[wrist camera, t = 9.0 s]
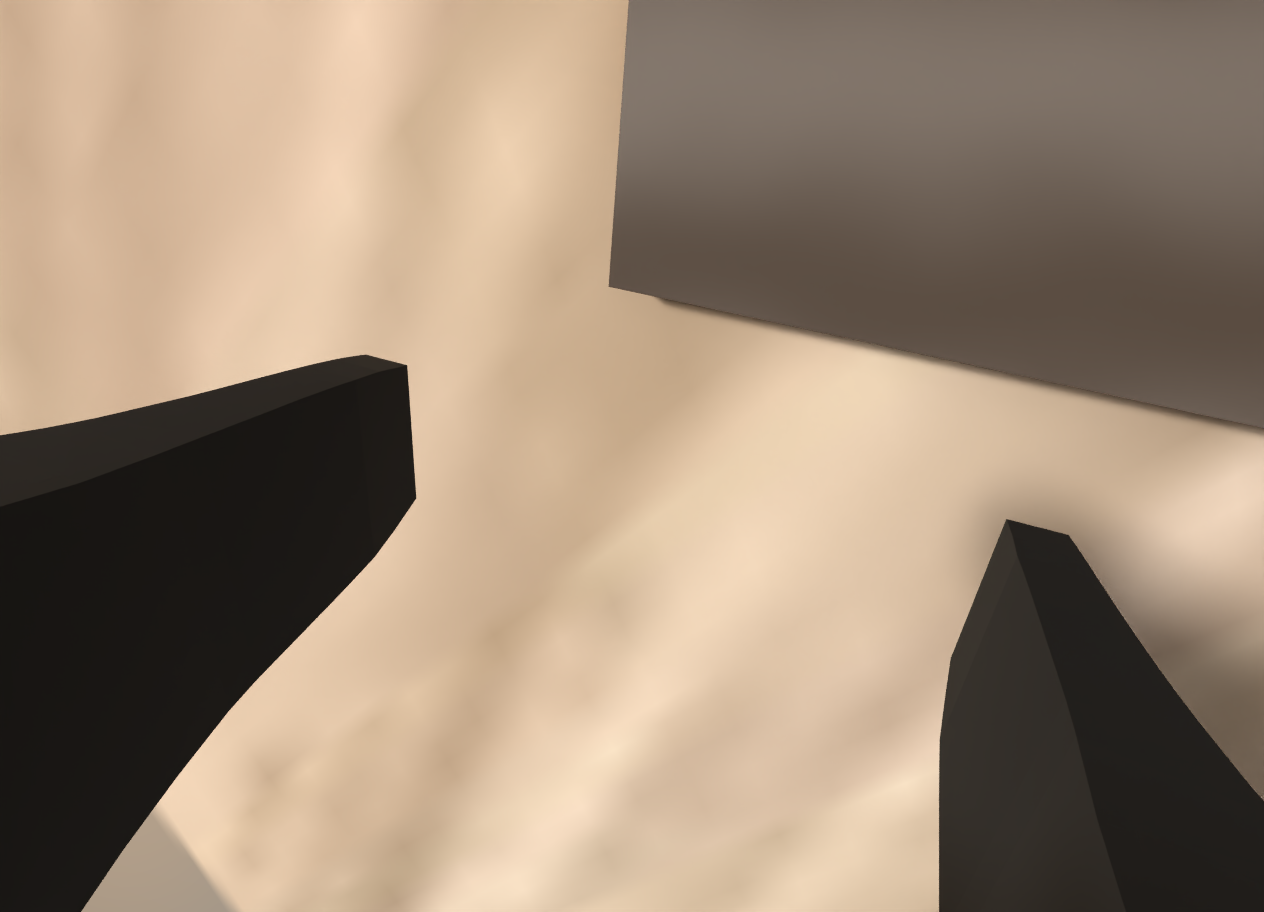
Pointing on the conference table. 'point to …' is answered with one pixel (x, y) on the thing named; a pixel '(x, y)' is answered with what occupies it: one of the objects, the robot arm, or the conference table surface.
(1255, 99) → the lane rack
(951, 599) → the conference table surface
